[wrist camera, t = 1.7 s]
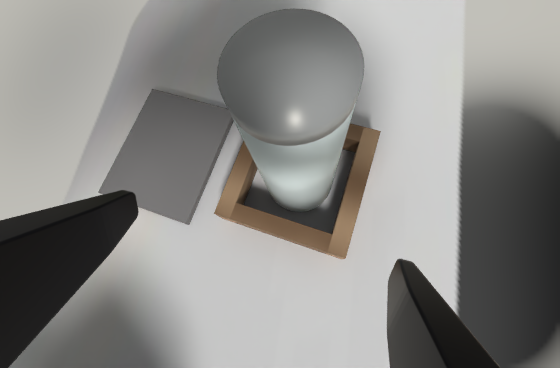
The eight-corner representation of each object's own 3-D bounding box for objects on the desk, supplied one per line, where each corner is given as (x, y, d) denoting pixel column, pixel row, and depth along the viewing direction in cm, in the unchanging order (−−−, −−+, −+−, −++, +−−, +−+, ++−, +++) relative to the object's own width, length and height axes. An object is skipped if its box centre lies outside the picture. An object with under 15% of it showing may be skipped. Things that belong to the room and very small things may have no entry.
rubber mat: (189, 224, 22) (185, 223, 21) (103, 194, 23) (98, 192, 23) (236, 114, 24) (234, 110, 24) (155, 93, 26) (152, 88, 25)
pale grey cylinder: (321, 220, 21) (340, 150, 9) (258, 200, 22) (194, 110, 9) (339, 160, 22) (380, 22, 10) (279, 143, 23) (247, -2, 11)
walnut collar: (341, 259, 20) (345, 258, 18) (222, 218, 22) (214, 213, 20) (374, 142, 22) (380, 131, 20) (263, 114, 24) (259, 100, 22)
